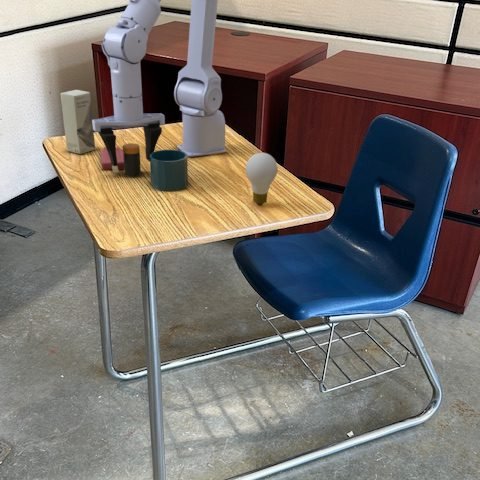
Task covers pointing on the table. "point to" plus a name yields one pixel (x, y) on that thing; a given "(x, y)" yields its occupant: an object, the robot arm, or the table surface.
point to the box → (78, 121)
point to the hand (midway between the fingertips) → (131, 162)
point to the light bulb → (261, 175)
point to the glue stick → (131, 159)
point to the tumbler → (169, 170)
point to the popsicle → (107, 162)
